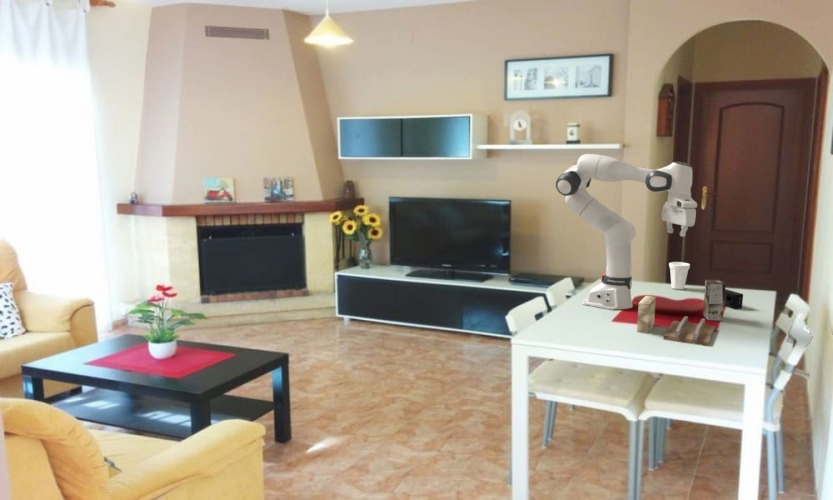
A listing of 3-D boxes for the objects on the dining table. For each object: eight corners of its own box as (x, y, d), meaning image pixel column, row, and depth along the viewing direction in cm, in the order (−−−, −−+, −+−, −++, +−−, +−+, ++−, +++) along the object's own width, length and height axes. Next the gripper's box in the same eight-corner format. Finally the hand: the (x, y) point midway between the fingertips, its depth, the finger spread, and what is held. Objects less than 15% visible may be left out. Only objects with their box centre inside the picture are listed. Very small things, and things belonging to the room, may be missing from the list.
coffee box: (723, 321, 283) (726, 284, 280) (707, 320, 284) (710, 283, 281) (718, 315, 292) (721, 279, 289) (702, 314, 293) (705, 278, 290)
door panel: (636, 331, 267) (638, 302, 265) (643, 323, 279) (645, 295, 277) (647, 333, 265) (649, 304, 263) (653, 324, 277) (655, 296, 275)
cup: (691, 291, 337) (693, 265, 335) (671, 290, 337) (673, 265, 335) (683, 286, 347) (685, 262, 345) (664, 286, 347) (666, 261, 345)
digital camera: (715, 304, 311) (716, 289, 310) (724, 303, 313) (725, 288, 312) (732, 309, 302) (734, 294, 300) (741, 308, 303) (743, 293, 302)
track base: (663, 339, 257) (664, 329, 257) (673, 324, 278) (674, 314, 277) (708, 345, 250) (708, 335, 249) (715, 329, 270) (716, 320, 269)
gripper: (659, 199, 285) (656, 230, 287) (685, 204, 265) (682, 238, 267) (672, 199, 286) (670, 230, 288) (699, 204, 266) (696, 238, 268)
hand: (676, 234), depth 278 cm, fingers open, 8 cm apart
